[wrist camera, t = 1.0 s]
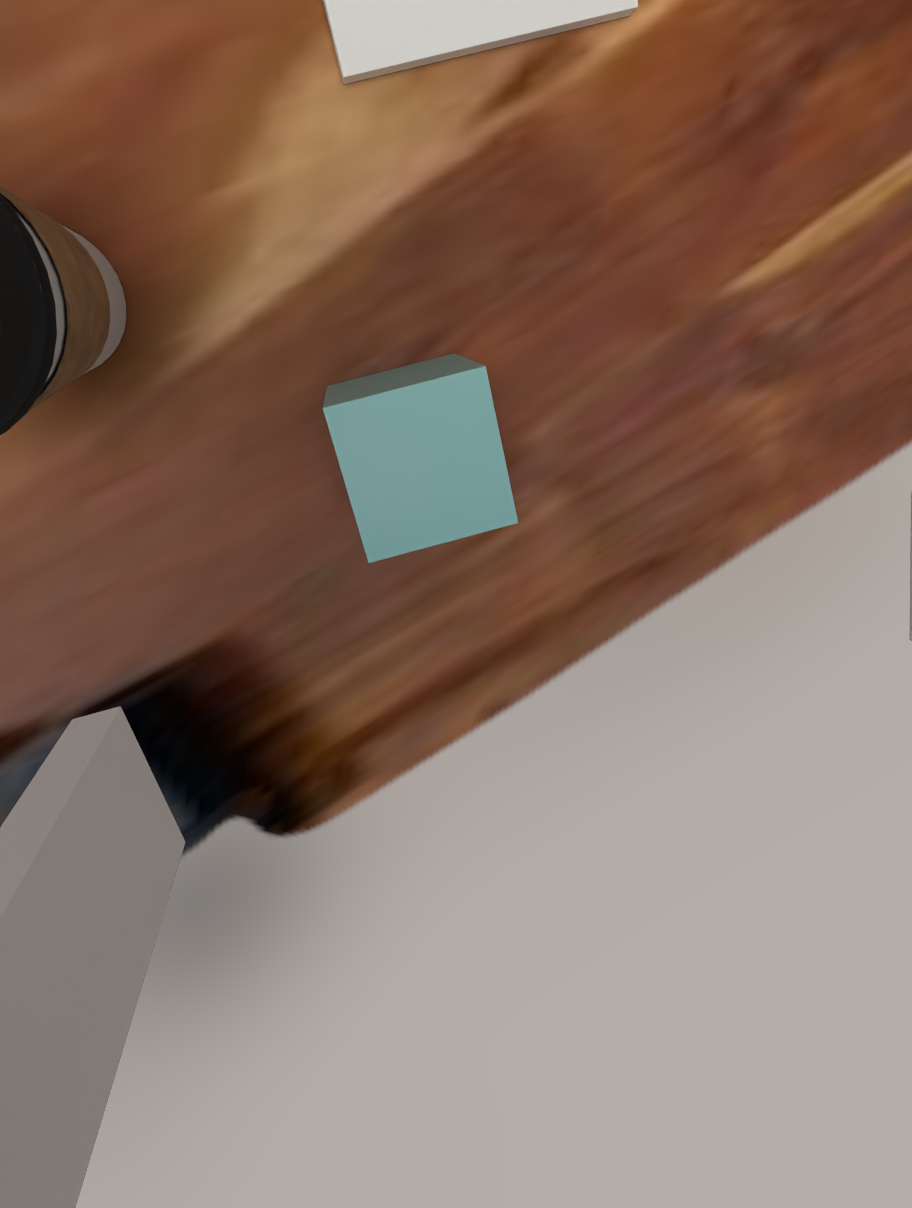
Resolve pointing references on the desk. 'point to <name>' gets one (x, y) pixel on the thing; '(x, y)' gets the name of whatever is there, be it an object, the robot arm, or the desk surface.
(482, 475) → the teal rectangular block
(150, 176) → the desk surface
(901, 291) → the desk surface
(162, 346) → the desk surface
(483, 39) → the post stand
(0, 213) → the coffee cup
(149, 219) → the desk surface
